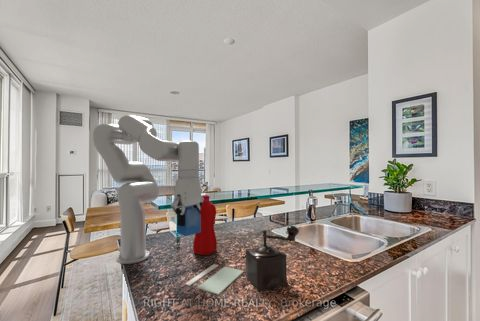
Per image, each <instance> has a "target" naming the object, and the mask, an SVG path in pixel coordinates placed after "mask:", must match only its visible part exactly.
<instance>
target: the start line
mask: <svg viewBox="0 0 480 321" xmlns="http://www.w3.org/2000/svg"><path fill="white" fill-rule="evenodd" d="M217 267H219V264H214V263H213V264H212V265H210V266H208V267H207V268H206V269H205V270H203V271H201V272H200V273H198V274H197V275H195V276H194V277H192V278H191V279H190V280H188V281H186V282H185V283H184V285H186V286H188V287H190V286H192V285H193V284H195V283H196V282H198V281H199V280H200V279H202V278H203V277H205V276H207V275H208V274H209V273H210V272H212V271H213V270H215V269H216V268H217Z"/></svg>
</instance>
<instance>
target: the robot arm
mask: <svg viewBox="0 0 480 321" xmlns="http://www.w3.org/2000/svg"><path fill="white" fill-rule="evenodd" d="M157 136H158V133H157V129H156V128H155V127H154V124H153V122H152V121H151V120H150V119H148V118H145V117H142V116H137V115H133V114H126V115H123V116H121V117H120V118H119V119H118V122H117V124H114V123H100V124H98V125H96V126H95V127H94V129H93V132H92V141H93V145H94V146H95V149H96V151H97V152H98V154H99V155H100V156H101V158H102V159H103V161H104V163H105V165H106V167H107V169H108V171H109V172H108V173H109V174H110V175H111V178H112V179H113V181H114V182H115V183H117V184H122V185H121V186H119V188H118V189H117V192H116V193H117V201H118V205H119V206H118V207H119V215H120V216H119V218H120V223H119V224H120V246H118V247H117V249H116V250H117V251H118V252H119V255H117V257H116V261H115V262H117V263H118V264H121V265H131V264H136V263H140V262H143V261H145V260H146V259H148V258H149V257H150V256H151V254H150V251H149V250H147V248H146V247H147V246H146V244H147V243H146V240H147V239H146V235H147V234H146V232H147V230H146V229H147V228H146V213H145V210H144V209H143V207H142V204H146V203H150V202H154V201H156V200H157V199H158V198H159V196H160V188H159V186H158V183H157V181H156V179H155V178H154V176H153V173H152V172H151V170H150V168H149V167H148V166H147V165H146V164H145V163H144V162H140V161H130V160H129V159H128V157H127V156H126V154H125V152H124V151H123V149H121V148H120V147H119V146H118V145H133V144H135V143H138V145H139V149H140V150H141V152H143V153H144V154H145V155H147V156H148V157H149V158H151V159H153V160H155V161H159V162H177V178H176V181H175V185H174V195H173V201H172V203H171V204H170V207H171V208H172V209H173V210H172V211H173V212H174V213H175V214H176V226H177V225H178V226H185V215H183V214H184V211H185V208H186V207H189V206H192V205H193V208H196V209H197V210H198V212H199V213H200V210H201V205H202V202H203V200H204V198H203V197H202V196H203V195H202V187H201V179H200V146H199V143H198V141H195V140H194V141H193V140H181V141H179V142H178V141H171V140H163V139H160V138H158V137H157ZM116 144H117V145H116ZM181 208H182V209H181ZM180 209H181V210H180Z"/></svg>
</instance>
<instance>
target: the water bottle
mask: <svg viewBox="0 0 480 321" xmlns="http://www.w3.org/2000/svg"><path fill="white" fill-rule="evenodd" d="M201 196H202V197H203V198H204V200H203V202H202V205H201V210H200V215H201V232H200V233H196V234H194V236H193V237H194V238H193V242H192V243H193V244H192V249H193V253H194V254H195V255H202V256H209V255H212V254H213V253H214V252H216V251H217V248H218V242H217V241H218V240H217V237H216V233H215V223H216V222H215V221H216V217H217V207H216V205H215V204H214V203H213V202H212V201H210V195H209V194H204V195H203V194H202V195H201Z"/></svg>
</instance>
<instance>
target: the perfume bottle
mask: <svg viewBox="0 0 480 321" xmlns="http://www.w3.org/2000/svg"><path fill="white" fill-rule="evenodd" d="M181 209H182V208H181ZM181 209H180V210H181ZM183 215H185V226H178V225H177V224H176V233H178V234H180V235H182V236H184V237H189V236H191V235H195V234H196V233H200V232H201V215H200V213H199V212H198V210H197V209H196V208H193V205H192V206H189V207H186V208H185V211H184V214H183Z"/></svg>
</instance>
